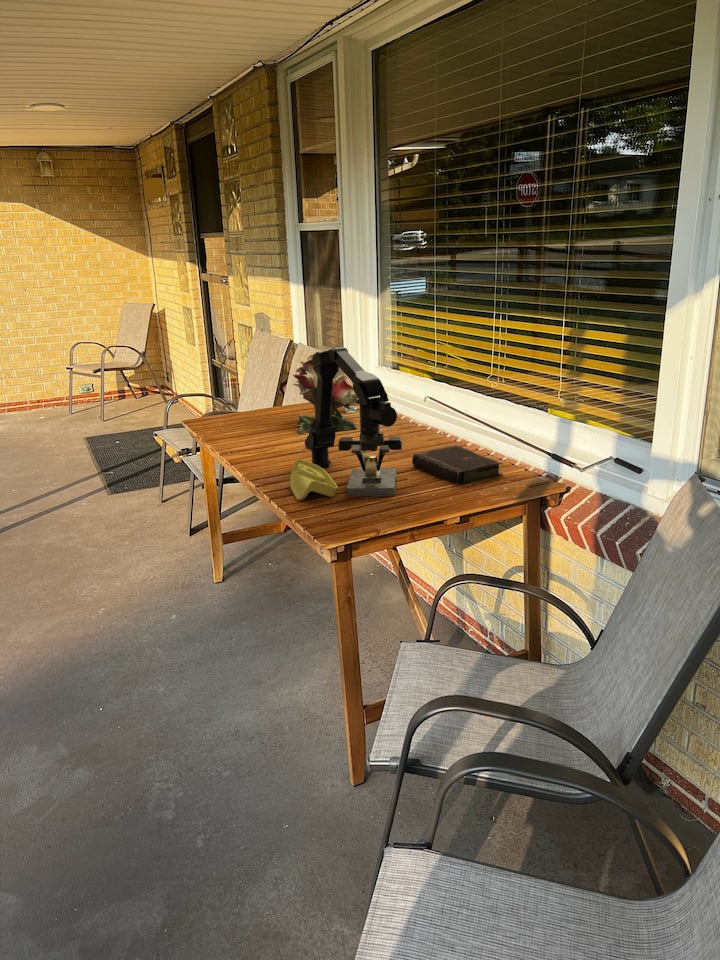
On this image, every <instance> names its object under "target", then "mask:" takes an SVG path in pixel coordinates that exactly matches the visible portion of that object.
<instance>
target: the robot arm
mask: <svg viewBox="0 0 720 960" xmlns="http://www.w3.org/2000/svg"><path fill="white" fill-rule="evenodd" d="M314 353H315V354H314ZM314 353H313V354H314V355H313V354H312V355H313V356H312V357H313V358H312V363H313V370H314V372H315V374H316V375H317V378H318V379H317V399H316V418H315V420H314V421H313V423H312V424H311V426H310V431H309V435H307V436H306V438H305V440H304V446H305V449H307V450H310V451H311V463H313V464H316V465H318V466H319V467H321V468H330V467H331V466H330V465H331V464H332V461H331V460H330V457H329V456H330V455H329V454H330V453H329V448H333V447H334V446H335V440H336V438H337V437H336V432H337V431H336V428H335V427H334V426H333V424H332V423H331V421H330V417H331V401H332V385H333V378H334V379H335V377H336V376H337V374H338V372H339V370H341V371H342V372H343V374H344V373H345V374H346V375H347V377H348V378H349V379H350V380H351V381H352V383H353V390H354V392H355V393H356V395H357V396H358V398H359V399H358V400H357V401H356V403H357V404H358V405H359V427H360V429H359V430H360V431H359V432H360V434H359V439H357V440H356V439H355V440H354V438H353V436H347V437H345V436H343V437H341V438H339V441H338V443H337V444H338V445H337V446H338V451H339V452H342V451H343V452H344V451H345V452H346V451H348V452H349V451H351V454H355V456H356V457H357V458H358V459H357V460H358V461H359V464H360V466H361V469H363V471H364V472H365V465H364V457H365V456H364V452H367V451H368V452H370V451H372V452H376V451H378V447H379V451H378V471H379V470H380V468H381V465H382V463H383V459H384V457H385V455H386V453H387V454H388V453H390V451H401V450H402V449H403V438H402V436H400V435H399V436H396V435H395V436H388V439H384V438H385V436H384V435H385V434H384V433H381V431H380V430H381V429H380V428H381V427H380V426H383V427H386V428H388V427H389V428H390V427H392V426H393V425H394V424H395V423H396V421H397V419H398V413H397V411H396V409H395V408H394V407H392V403H391V402H390V399H389V397H388V393H387V391H386V390H385V388H384V385H383V382H382V380H381V379H380V378H379V377H378V376H377V375H375V374H373V373H372V372H369V371H366V370H364V369H363V367H362V366H361V365H360V364H359V363H358V362H357V361H356V360H355V358H354V357H353V356H352V354H350V353H349V351H348V349H347V347H344V346H341V347H340V346H339V347H332V348H330V349H328V350H323V351H317V352H314Z"/></svg>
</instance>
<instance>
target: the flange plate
mask: <svg viewBox="0 0 720 960" xmlns="http://www.w3.org/2000/svg"><path fill="white" fill-rule="evenodd" d="M396 482H397V468H396V467H393V468H392V467H388V468H381V467H380V470H379V471H378V477H375V478H367V477H365V472H364V471H363V469H362V468H352V469H351V472H350V475H349V479H348V482H347V485H346V497H394V496H395V495H394V494H396V485H397V483H396Z"/></svg>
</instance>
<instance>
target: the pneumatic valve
mask: <svg viewBox="0 0 720 960" xmlns="http://www.w3.org/2000/svg"><path fill="white" fill-rule="evenodd" d="M358 399H359V398H358ZM343 407H344V406H343ZM349 407H350V408H352V409H350V410H349V409H348V408H346V407H344V408H343V410H344V413H346V414H348V413H350V414H356V412H357V410H358V408H357V405H356V406H352V405H350V406H349ZM353 409H354V410H355V411H354V410H353Z"/></svg>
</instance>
